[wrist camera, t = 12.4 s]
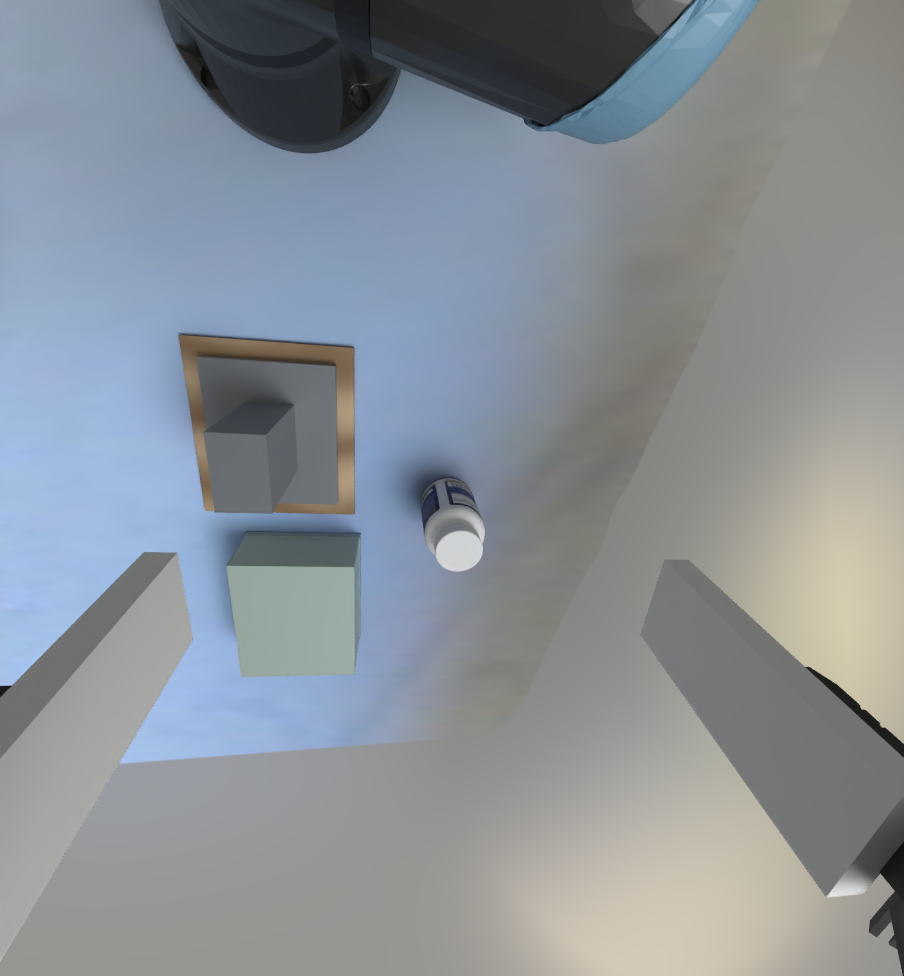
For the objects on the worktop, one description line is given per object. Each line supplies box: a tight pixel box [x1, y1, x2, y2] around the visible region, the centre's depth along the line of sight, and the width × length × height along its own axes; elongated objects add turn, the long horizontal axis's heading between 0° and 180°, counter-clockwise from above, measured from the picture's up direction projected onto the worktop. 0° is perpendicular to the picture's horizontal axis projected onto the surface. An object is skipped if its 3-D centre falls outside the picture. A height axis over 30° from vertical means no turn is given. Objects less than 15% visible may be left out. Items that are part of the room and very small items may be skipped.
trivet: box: [179, 335, 355, 514], centre depth 40 cm, size 16×14×1 cm
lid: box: [196, 355, 339, 514], centre depth 36 cm, size 13×11×10 cm
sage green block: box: [226, 531, 361, 677], centre depth 45 cm, size 13×11×6 cm
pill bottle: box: [421, 478, 485, 572], centre depth 41 cm, size 5×5×10 cm
